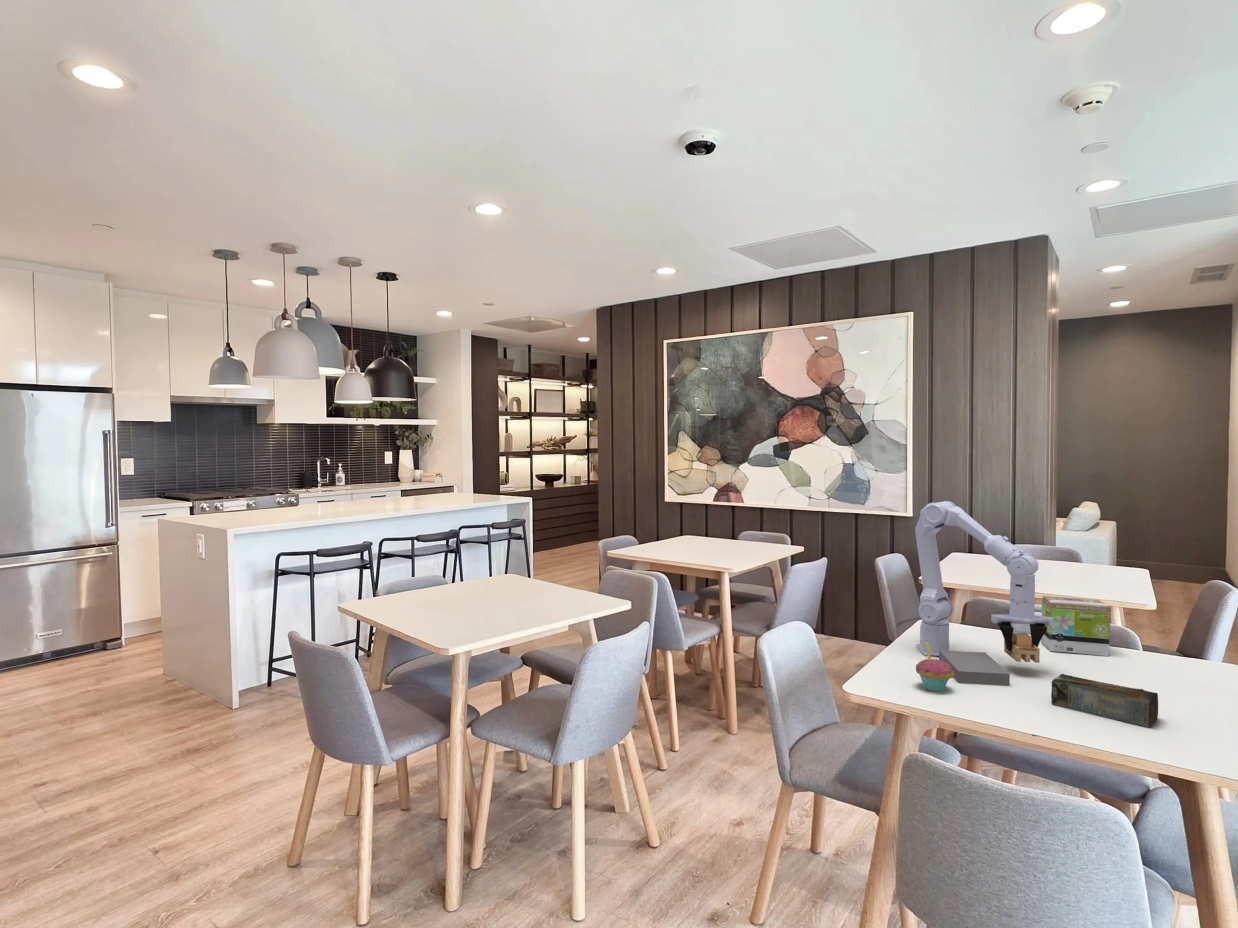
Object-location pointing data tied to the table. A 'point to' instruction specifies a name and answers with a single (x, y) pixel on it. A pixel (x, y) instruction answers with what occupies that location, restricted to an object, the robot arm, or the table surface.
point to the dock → (975, 668)
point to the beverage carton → (1105, 700)
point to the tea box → (1077, 625)
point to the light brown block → (1022, 639)
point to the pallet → (1023, 653)
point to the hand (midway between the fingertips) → (1021, 650)
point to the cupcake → (934, 672)
